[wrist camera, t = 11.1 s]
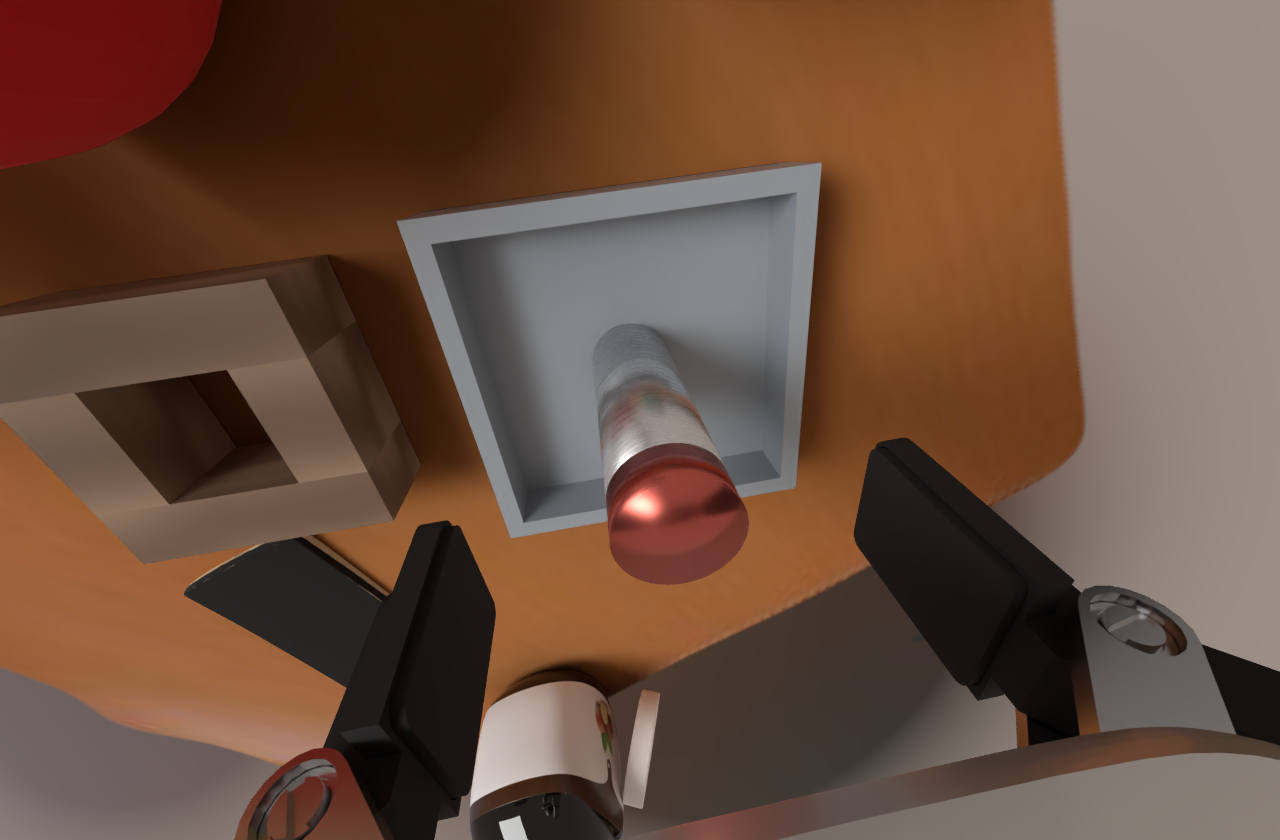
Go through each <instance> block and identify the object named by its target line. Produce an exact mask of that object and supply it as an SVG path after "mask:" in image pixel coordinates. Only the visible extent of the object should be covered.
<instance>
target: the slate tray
mask: <svg viewBox="0 0 1280 840" xmlns="http://www.w3.org/2000/svg"><path fill="white" fill-rule="evenodd" d="M821 166H822V163H813V162H781V163H774V164H767V165H759V166H752V167H745V168H738V169H730V170H723V171H716V172H708V173H701V174H694V175H687V176H679V177H672V178H665V179H657V180H650V181H643V182H636V183H628V184H621V185H614V186H606V187H599V188H592V189H584V190H577V191H570V192H563V193H555V194H548V195H541V196H533V197H526V198H519V199H512V200H504V201H497V202H490V203H482V204H475V205H468V206H460V207H453V208H446V209H439V210H431V211H424V212H421V213H418V214H415V215H412V216H410V217H407V218H404V219H401V220H399V221H397V224H398V227H399V230H400V232H401V235H402V238H403V241H404V244H405V246H406V249H407V252H408V255H409V257H410V260H411V263H412V266H413V268H414V271H415V274H416V277H417V280H418V282H419V285H420V288H421V291H422V293H423V296H424V299H425V302H426V305H427V307H428V310H429V313H430V316H431V318H432V321H433V324H434V327H435V329H436V332H437V335H438V338H439V341H440V343H441V346H442V349H443V352H444V354H445V357H446V360H447V363H448V365H449V368H450V371H451V374H452V377H453V379H454V382H455V385H456V388H457V390H458V393H459V396H460V399H461V401H462V404H463V407H464V410H465V413H466V415H467V418H468V421H469V424H470V426H471V429H472V432H473V435H474V438H475V440H476V443H477V446H478V449H479V451H480V454H481V457H482V460H483V462H484V465H485V468H486V471H487V474H488V476H489V479H490V482H491V485H492V487H493V490H494V493H495V496H496V498H497V501H498V504H499V507H500V510H501V512H502V515H503V518H504V521H505V523H506V526H507V529H508V532H509V535H510V537H511V538H516V537H521V536H527V535H533V534H538V533H544V532H550V531H555V530H561V529H566V528H572V527H578V526H583V525H589V524H595V523H600V522H606V521H608V519H607V509H606V499H605V489H604V478H603V468H602V458H601V448H600V437H599V427H598V417H597V407H596V396H595V386H594V376H593V365H592V355H593V351H594V348H595V346H596V343H597V342H598V340H599V339H600V338H601V337H602V335H603V334H605V333H606V332H607V331H608V330H610V329H612V328H614V327H616V326H619V325H622V324H629V323H634V324H641V325H644V326H646V327H649V328H651V329H652V330H654V331H655V332H656V333H657V334H658V335H659V336H660V337H661V339H662V340H663V342H664V344H665V346H666V348H667V350H668V352H669V354H670V356H671V358H672V360H673V362H674V364H675V366H676V368H677V370H678V372H679V374H680V376H681V378H682V380H683V382H684V384H685V386H686V388H687V391H688V393H689V395H690V397H691V399H692V401H693V403H694V405H695V407H696V409H697V411H698V413H699V415H700V417H701V419H702V421H703V423H704V425H705V427H706V429H707V431H708V433H709V435H710V437H711V439H712V441H713V443H714V445H715V447H716V449H717V451H718V453H719V455H720V457H721V459H722V461H723V463H724V466H725V468H726V470H727V472H728V474H729V476H730V478H731V480H732V482H733V484H734V486H735V488H736V490H737V492H738V494H739V496H740V498H741V497H747V496H753V495H758V494H764V493H770V492H775V491H781V490H787V489H792V488H796V477H797V465H798V452H799V440H800V427H801V415H802V402H803V390H804V377H805V365H806V353H807V340H808V328H809V315H810V303H811V290H812V278H813V265H814V253H815V241H816V228H817V216H818V203H819V191H820V178H821Z"/></svg>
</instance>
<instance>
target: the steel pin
mask: <svg viewBox="0 0 1280 840" xmlns="http://www.w3.org/2000/svg"><path fill="white" fill-rule="evenodd" d="M592 365H593V376H594V386H595V396H596V407H597V417H598V427H599V437H600V448H601V458H602V468H603V478H604V489H605V499H606V509H607V519H608V530H609V540H610V549H611V552H612V555H613V557H614V559H615V561H616V562H617V564H618V565H619V566H620V567H621V568H622V569H623V570H624V571H625V572H627V573H628V574H629V575H631V576H633V577H635V578H637V579H640V580H642V581H645V582H649V583H655V584H666V585H669V584H681V583H687V582H691V581H695V580H698V579H701V578H703V577H705V576H708V575H710V574H712V573H714V572H715V571H717V570H719V569H720V568H722V567H723V566H724V565H726V564H727V563H728V562H729V561H730V560H731V559H732V558H733V557H734V556H735V555H736V554H737V553H738V551H739V550H740V548H741V547H742V545H743V543H744V541H745V539H746V536H747V532H748V526H749V521H748V514H747V510H746V508H745V506H744V504H743V502H742V500H741V498H740V496H739V494H738V492H737V490H736V488H735V486H734V484H733V482H732V480H731V478H730V476H729V474H728V472H727V470H726V468H725V466H724V463H723V461H722V459H721V457H720V455H719V453H718V451H717V449H716V447H715V445H714V443H713V441H712V439H711V437H710V435H709V433H708V431H707V429H706V427H705V425H704V423H703V421H702V419H701V417H700V415H699V413H698V411H697V409H696V407H695V405H694V403H693V401H692V399H691V397H690V395H689V393H688V391H687V388H686V386H685V384H684V382H683V380H682V378H681V376H680V374H679V372H678V370H677V368H676V366H675V364H674V362H673V360H672V358H671V356H670V354H669V352H668V350H667V348H666V346H665V344H664V342H663V340H662V339H661V337H660V336H659V335H658V334H657V333H656V332H655V331H654V330H652V329H651V328H649V327H646V326H644V325H641V324H634V323H629V324H622V325H619V326H616V327H614V328H612V329H610V330H608V331H607V332H606V333H605V334H603V335H602V337H601V338H600V339H599V340H598V342H597V343H596V346H595V348H594V351H593V355H592Z"/></svg>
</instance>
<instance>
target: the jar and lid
mask: <svg viewBox="0 0 1280 840" xmlns="http://www.w3.org/2000/svg"><path fill="white" fill-rule="evenodd" d="M659 697H660V693H659V692H655V691H651V690H646V689H642V692H641V696H640V699H639V704H638V709H637V713H636V719H635V724H634V729H633V735H632V741H631V746H630V752H629V758H628V764H627V771H626V778H625V786H624V794H623V795H622V782H621V769H620V757H619V748H618V740H617V732H616V727H615V722H614V718H613V714H612V711H611V708H610V705H609V702H608V699H607V697H606V695H605V692H604V690H603V689H602V687H601V686H600V684H599V683H598V682H597V681H596V680H595V679H593V678H592V677H590V676H588V675H586V674H583V673H580V672H576V671H571V670H551V671H545V672H540V673H537V674H534V675H531V676H529V677H527V678H525V679H523V680H521V681H520V682H518V683H516V684H515V685H513V686H512V687H510V688H509V689H507V690H506V691H505V692H503V693H502V694H501V695H500V696H499V697H498V698H497V699H496V700H495V701H494V702H493V703H492V704H491V706H490V707H489V709H488V710H487V713H486V716H485V718H484V721H483V725H482V730H481V734H480V740H479V745H478V751H477V758H476V764H475V771H474V777H473V784H472V791H471V802H470V832H471V837H472V840H619V839H622V836H623V823H624V819H623V818H624V817H623V804H626V805H629V806H633V807H637V808H640V809H642V808H643V803H644V797H645V791H646V784H647V778H648V772H649V766H650V759H651V753H652V746H653V739H654V732H655V725H656V719H657V712H658V705H659Z"/></svg>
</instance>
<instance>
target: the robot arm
mask: <svg viewBox="0 0 1280 840" xmlns="http://www.w3.org/2000/svg"><path fill="white" fill-rule="evenodd" d="M854 538H855V542H856V544H857V546H858V547H859V549H860V550H861V552H862V553H863V554H864V556H865V557H866V559H867V560H868V561H869V563H870V564H871V565H872V567H873V568H874V570H875V571H876V572H877V574H878V575H879V576H880V578H881V579H882V580H883V582H884V583H885V585H886V586H887V587H888V589H889V590H890V592H891V593H892V594H893V596H894V597H895V598H896V600H897V601H898V603H899V604H900V605H901V607H902V608H903V609H904V611H905V612H906V613H907V615H908V616H909V618H910V619H911V620H912V622H913V623H914V624H915V626H916V627H917V629H918V630H919V631H920V633H921V634H922V635H923V637H924V638H925V640H926V641H927V642H928V644H929V645H930V646H931V648H932V649H933V651H934V652H935V653H936V654H937V656H938V657H939V659H940V660H941V661H942V663H943V664H944V666H945V667H946V668H947V670H948V671H949V672H950V674H951V675H952V677H953V678H954V679H955V680H956V681H957V682H958V683H960V684H961V685H964V686H965V685H966V686H967V687H968V688H969V690H970V691H971V692H972V694H973V695H974V696H975V698H976V699H977V700H978V701H979V700H983V699H988V698H992V697H997V696H1001V695H1004V694H1005V695H1006V696H1007V698H1008V699H1009V700H1010V701H1011V702H1012V703H1013V705H1014V706H1015V712H1016V735H1017V749H1012V750H1007V751H1002V752H998V753H993V754H989V755H984V756H980V757H975V758H971V759H967V760H962V761H958V762H953V763H949V764H944V765H940V766H935V767H931V768H927V769H923V770H918V771H913V772H909V773H905V774H900V775H896V776H891V777H887V778H882V779H878V780H873V781H869V782H865V783H860V784H856V785H851V786H848V787H843V788H838V789H834V790H830V791H825V792H821V793H817V794H813V795H808V796H804V797H799V798H795V799H791V800H786V801H782V802H778V803H773V804H769V805H765V806H760V807H756V808H752V809H748V810H743V811H739V812H735V813H730V814H726V815H722V816H717V817H713V818H708V819H705V820H700V821H696V822H691V823H687V824H683V825H679V826H674V827H670V828H666V829H662V830H658V831H653V832H649V833H645V834H641V835H636V836H632V837H628V838H624V839H619V840H1280V672H1279V671H1276V670H1273V669H1271V668H1268V667H1265V666H1262V665H1259V664H1256V663H1253V662H1251V661H1248V660H1245V659H1242V658H1239V657H1236V656H1233V655H1231V654H1228V653H1225V652H1222V651H1219V650H1216V649H1213V648H1210V647H1208V646H1205V645H1202V644H1201V642H1200V641H1199V639H1198V637H1197V635H1196V634H1195V632H1194V631H1193V629H1192V628H1191V627H1190V626H1189V625H1188V624H1187V623H1186V622H1185V621H1184V620H1183V619H1182V618H1181V617H1180V616H1178V615H1177V614H1175V613H1174V612H1172V611H1171V610H1169V609H1168V608H1167V607H1165V606H1164V605H1162V604H1160V603H1158V602H1156V601H1154V600H1153V599H1151V598H1149V597H1147V596H1145V595H1142V594H1139V593H1136V592H1133V591H1131V590H1128V589H1124V588H1119V587H1114V586H1093V587H1090V588H1087V589H1084V591H1083V592H1082V593H1081V592H1080V591H1078V590H1077V589H1076V588H1075V587H1074V586H1073V585H1072V583H1073V582H1074V580H1073V579H1072V578H1071V577H1070V576H1069V575H1068V574H1066V573H1065V572H1064V571H1063V570H1062V569H1061V568H1060V567H1058V566H1057V565H1056V564H1055V563H1054V562H1053V561H1051V560H1050V559H1049V558H1048V557H1047V556H1046V555H1044V554H1043V553H1042V552H1041V551H1040V550H1039V549H1037V548H1036V547H1035V546H1034V545H1033V544H1032V543H1030V542H1029V541H1028V540H1027V539H1026V538H1025V537H1023V536H1022V535H1021V534H1020V533H1018V531H1016V530H1015V529H1014V528H1013V527H1012V526H1010V525H1009V524H1008V523H1007V522H1006V521H1005V520H1003V519H1002V518H1001V517H1000V516H999V515H998V514H997V513H995V512H994V511H993V510H992V509H991V508H990V507H988V506H987V505H986V504H985V503H984V502H983V501H981V500H980V499H979V498H978V497H977V496H976V495H974V494H973V493H972V492H971V491H970V490H969V489H967V488H966V487H965V486H964V485H963V484H962V483H960V482H959V481H958V480H957V479H956V478H955V477H953V476H952V475H951V474H950V473H949V472H948V471H946V470H945V469H944V468H943V467H942V466H941V465H939V464H938V463H937V462H936V461H935V460H934V459H932V458H931V457H930V456H929V455H928V454H927V453H925V452H924V451H923V450H922V449H921V448H920V447H918V446H917V445H916V444H915V443H914V442H913V441H911V440H910V439H908V438H898V439H893V440H887V441H882V442H879V443H878V444H877V445H876V447H875V449H874V450H872V451H871V452H870V454H869V459H868V464H867V469H866V474H865V479H864V484H863V489H862V494H861V499H860V504H859V509H858V514H857V519H856V524H855V528H854ZM495 617H496V611H495V604H494V601H493V599H492V596H491V594H490V592H489V590H488V588H487V585H486V583H485V581H484V579H483V577H482V574H481V572H480V570H479V568H478V565H477V563H476V561H475V559H474V557H473V554H472V552H471V550H470V548H469V546H468V543H467V541H466V539H465V537H464V534H463V532H462V530H461V528H460V527H459V526H458V525H456V526H452V525H451V523H450V522H449V521H440V522H435V523H429V524H424V525H420V526H419V527H418V528H417V529H416V531H415V534H414V537H413V539H412V542H411V545H410V547H409V550H408V552H407V555H406V558H405V560H404V563H403V566H402V568H401V571H400V574H399V576H398V579H397V581H396V584H395V587H394V589H393V592H392V594H390V595H387V596H386V597H385V598H384V599H383V600H382V602H381V604H380V606H379V608H378V611H377V613H376V616H375V618H374V621H373V623H372V626H371V628H370V631H369V633H368V636H367V638H366V641H365V643H364V646H363V648H362V651H361V653H360V656H359V658H358V661H357V664H356V666H355V669H354V671H353V674H352V676H351V679H350V681H349V684H348V686H347V689H346V691H345V694H344V696H343V699H342V701H341V704H340V706H339V709H338V711H337V714H336V717H335V719H334V722H333V724H332V727H331V729H330V732H329V734H328V737H327V739H326V742H325V744H324V747H323V748H318V749H312V750H310V751H307V752H305V753H303V754H300V755H298V756H296V757H295V758H293V759H292V760H290V761H289V762H287V763H286V764H285V765H283V766H282V767H280V768H279V769H278V770H277V771H276V772H275V773H274V774H273V775H272V776H271V777H270V778H269V779H268V780H267V781H266V782H265V783H264V784H263V785H262V786H261V788H260V789H259V790H258V792H257V793H256V794H255V795H254V797H253V798H252V799H251V801H250V803H249V804H248V806H247V808H246V810H245V812H244V814H243V816H242V817H241V819H240V822H239V825H238V829H237V832H236V835H235V839H234V840H434V838H435V833H436V827H437V822H438V821H439V820H443V819H448V818H452V817H457V816H458V815H459V809H460V802H461V796H466V795H467V794H468V793H469V791H470V789H471V785H472V780H473V773H474V766H475V759H476V752H477V745H478V738H479V731H480V723H481V716H482V709H483V702H484V695H485V688H486V681H487V674H488V667H489V660H490V653H491V646H492V639H493V632H494V625H495Z"/></svg>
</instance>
